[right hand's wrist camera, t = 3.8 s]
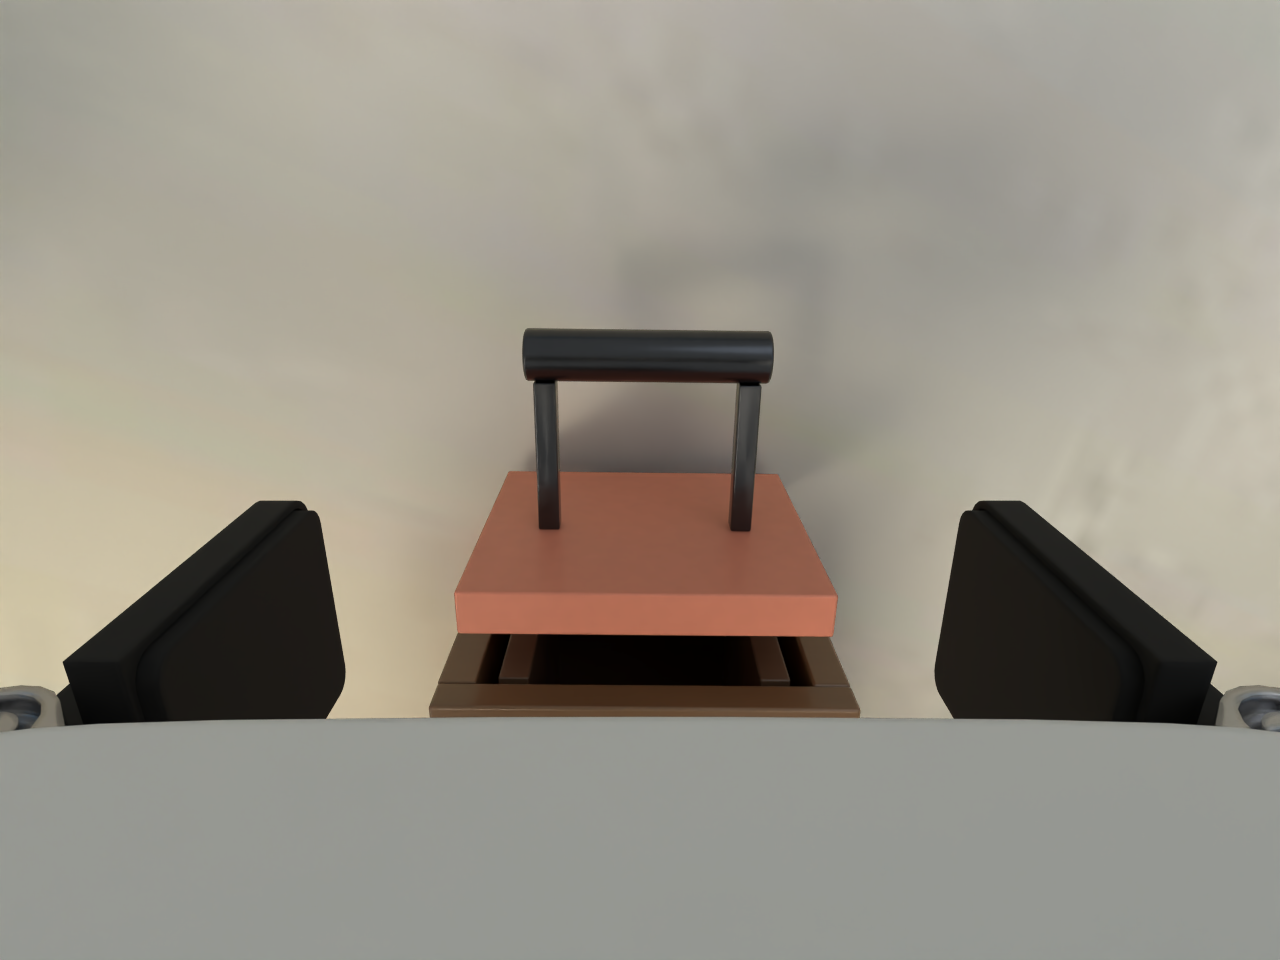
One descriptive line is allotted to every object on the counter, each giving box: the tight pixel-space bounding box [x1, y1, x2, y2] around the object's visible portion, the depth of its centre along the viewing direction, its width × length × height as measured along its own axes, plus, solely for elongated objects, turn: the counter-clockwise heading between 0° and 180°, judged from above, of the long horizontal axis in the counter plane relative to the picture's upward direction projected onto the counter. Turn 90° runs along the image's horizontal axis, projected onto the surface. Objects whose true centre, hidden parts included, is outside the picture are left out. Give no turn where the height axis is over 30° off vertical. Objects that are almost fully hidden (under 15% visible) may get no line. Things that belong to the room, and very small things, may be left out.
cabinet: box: [429, 633, 860, 718], centre depth 27 cm, size 20×11×10 cm, turn 179°
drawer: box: [454, 328, 838, 686], centre depth 24 cm, size 24×9×8 cm, turn 179°
